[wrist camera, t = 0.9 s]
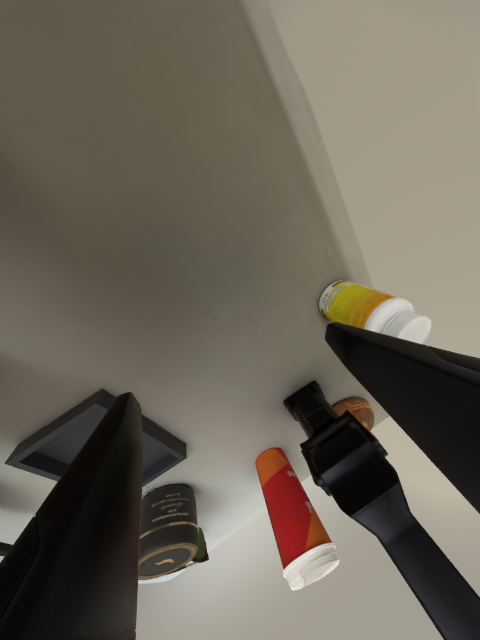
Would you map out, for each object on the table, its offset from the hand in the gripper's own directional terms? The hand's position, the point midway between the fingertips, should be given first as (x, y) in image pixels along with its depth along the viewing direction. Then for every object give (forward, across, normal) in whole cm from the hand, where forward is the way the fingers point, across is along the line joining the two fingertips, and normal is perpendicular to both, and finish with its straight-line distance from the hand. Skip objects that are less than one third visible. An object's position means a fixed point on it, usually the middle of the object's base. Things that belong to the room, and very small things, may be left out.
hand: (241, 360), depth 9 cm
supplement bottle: (+12, -17, +8) cm, 22 cm away
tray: (+13, +16, +20) cm, 29 cm away
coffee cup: (+10, -5, +38) cm, 40 cm away
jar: (+11, +15, +38) cm, 42 cm away
